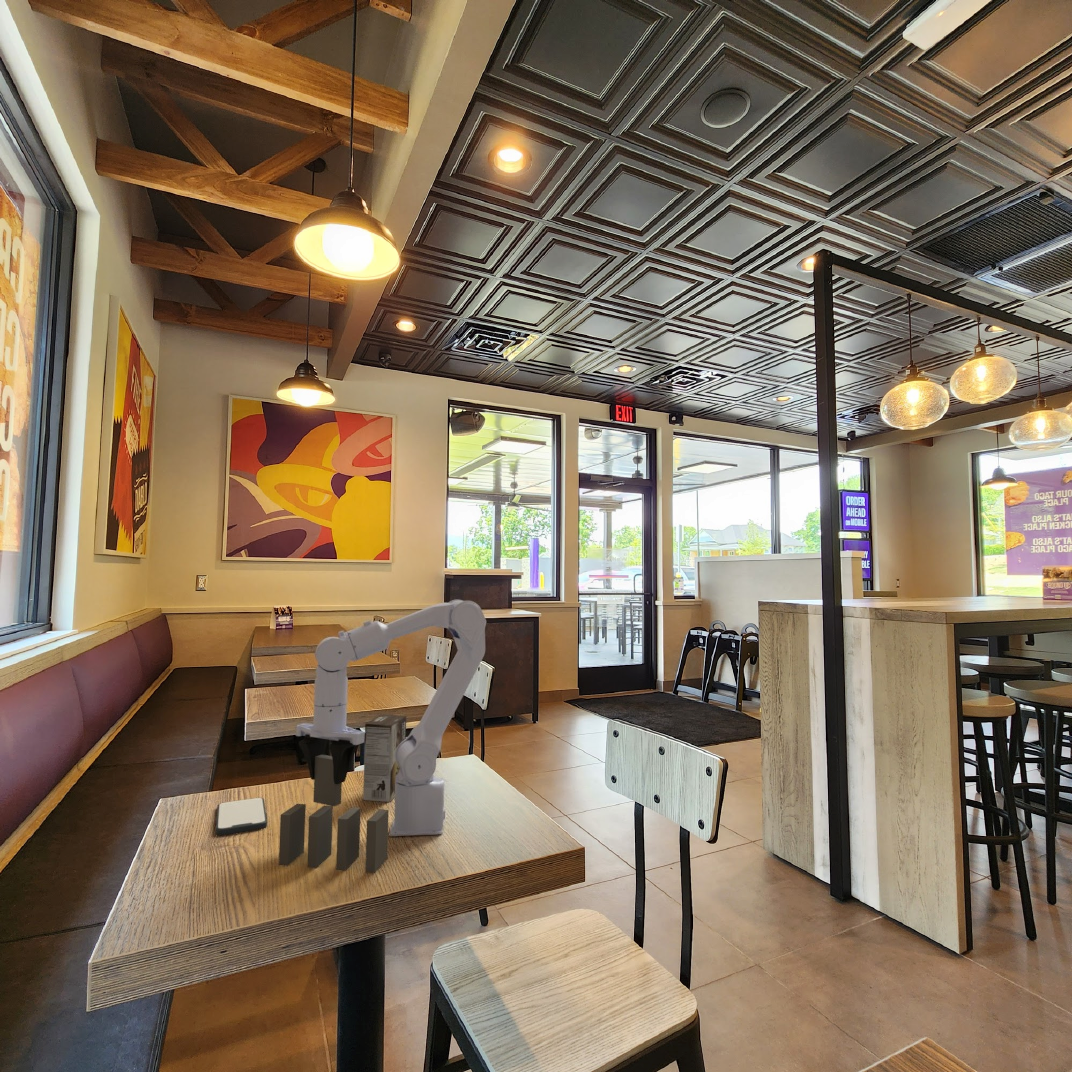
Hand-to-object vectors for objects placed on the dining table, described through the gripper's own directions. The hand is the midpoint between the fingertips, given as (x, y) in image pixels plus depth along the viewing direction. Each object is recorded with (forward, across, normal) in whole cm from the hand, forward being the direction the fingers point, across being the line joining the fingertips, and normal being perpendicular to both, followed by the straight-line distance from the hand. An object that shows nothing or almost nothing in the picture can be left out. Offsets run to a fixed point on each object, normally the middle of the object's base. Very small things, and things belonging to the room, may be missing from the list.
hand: (327, 780), depth 108 cm
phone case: (+11, -22, +1) cm, 25 cm away
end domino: (+4, 0, 0) cm, 4 cm away
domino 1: (+10, 0, -8) cm, 13 cm away
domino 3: (+10, +10, -5) cm, 15 cm away
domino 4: (+10, +15, -4) cm, 18 cm away
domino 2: (+10, +5, -6) cm, 13 cm away
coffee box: (+11, -6, +23) cm, 26 cm away
